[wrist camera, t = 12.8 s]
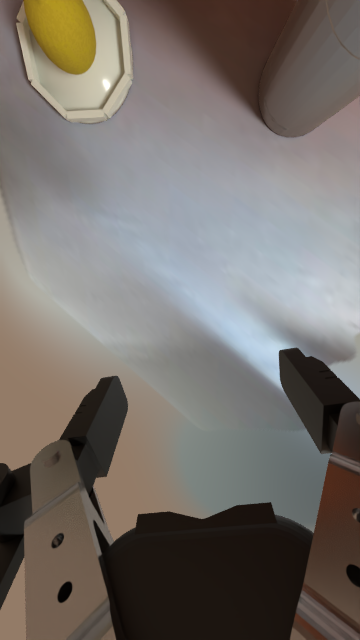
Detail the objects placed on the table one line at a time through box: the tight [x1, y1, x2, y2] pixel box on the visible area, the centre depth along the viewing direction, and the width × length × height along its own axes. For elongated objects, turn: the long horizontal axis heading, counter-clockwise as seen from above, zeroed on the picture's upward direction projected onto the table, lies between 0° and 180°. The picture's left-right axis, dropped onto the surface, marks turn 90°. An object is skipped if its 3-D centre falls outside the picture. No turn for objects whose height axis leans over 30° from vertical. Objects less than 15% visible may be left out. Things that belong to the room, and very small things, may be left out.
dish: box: [16, 0, 133, 124], centre depth 25 cm, size 12×12×2 cm
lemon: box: [23, 0, 96, 75], centre depth 21 cm, size 6×6×8 cm
